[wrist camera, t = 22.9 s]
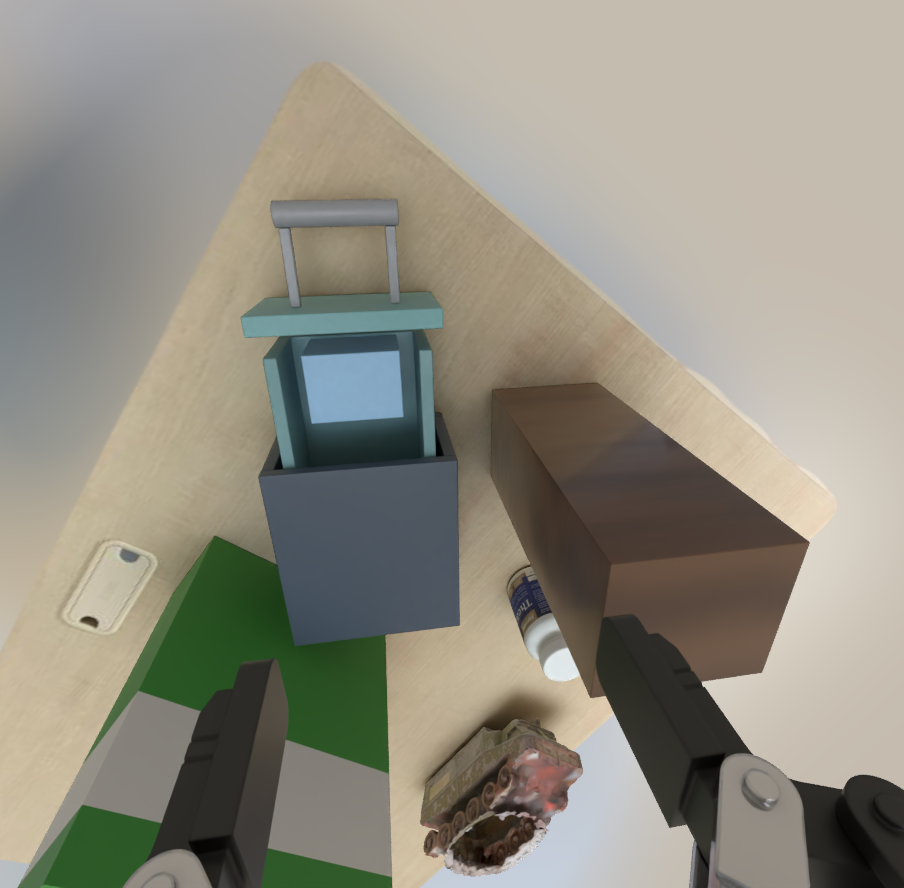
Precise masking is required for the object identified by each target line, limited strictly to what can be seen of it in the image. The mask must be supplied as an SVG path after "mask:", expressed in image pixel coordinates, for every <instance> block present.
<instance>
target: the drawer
mask: <svg viewBox="0 0 904 888" xmlns="http://www.w3.org/2000/svg"><path fill="white" fill-rule="evenodd" d="M270 209H271V217H272V221H273V224H274V226H275V228H279V236H280V242H281V248H282V255H283V261H284V268H285V274H286V281H287V287H288V293H289V297H279V298H265V299H263V300H262V301H261V302H260V303H258V304H257V305H256V306H254V307H253V308H252V309H251V310H249V311H248V312H247V313H245V314H244V315H243V316H242V317H241V322H242V327H243V332H244V336H245V337H246V338H252V337H273V336H280V337H279V338H278V340H277V341H276V342H275V344H274V345H273V346H272V348H271V349H270V350H269V352H268V353H267V354H266V356H265V357H264V358H263V365H264V370H265V375H266V381H267V386H268V391H269V397H270V402H271V407H272V412H273V418H274V423H275V428H276V434H277V439H278V444H279V449H280V455H281V460H282V465H283V469H295V468H307V467H319V466H332V465H344V464H356V463H369V462H381V461H393V460H405V459H418V458H430V457H436V443H435V414H434V386H433V357H432V349H431V347H430V344H429V342H428V340H427V337H426V335H425V333H424V331H423V329H438V328H443V308H442V307H441V305H440V304H439V303H438V301H437V300H436V299H435V297H434V296H433V295H432V293H431V292H408V293H399V277H398V260H397V244H396V228H395V226H397V225H398V224H399V215H398V202H397V199H350V200H284V201H271V204H270ZM352 226H385V235H386V249H387V264H388V278H389V293H383V294H357V295H331V296H305V297H301V296H300V290H299V283H298V276H297V269H296V262H295V255H294V248H293V242H292V235H291V229H290V228H306V227H352ZM382 335H396V336H397V341H398V347H399V353H400V368H401V382H402V397H403V412H404V417H396V418H382V419H369V420H355V421H342V422H328V423H314V424H312V423H311V418H310V411H309V405H308V399H307V392H306V386H305V379H304V373H303V367H302V360H301V355H302V354H303V352H304V350H305V348H306V346H307V344H308V342H309V340H310V339H325V338H344V337H363V336H382Z"/></svg>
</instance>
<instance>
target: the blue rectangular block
mask: <svg viewBox="0 0 904 888" xmlns="http://www.w3.org/2000/svg"><path fill="white" fill-rule="evenodd" d="M301 360H302V367H303V373H304V379H305V386H306V392H307V399H308V405H309V411H310V418H311V423H312V424H314V423H328V422H342V421H355V420H369V419H382V418H396V417H404V412H403V397H402V382H401V368H400V353H399V347H398V341H397V336H396V335H382V336H363V337H344V338H325V339H310V340H309V342H308V344H307V346H306V348H305V350H304V352H303V354H302V355H301Z"/></svg>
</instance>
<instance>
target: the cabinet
mask: <svg viewBox="0 0 904 888" xmlns="http://www.w3.org/2000/svg"><path fill="white" fill-rule="evenodd" d="M434 414H435V443H436V457H430V458H418V459H405V460H393V461H381V462H369V463H356V464H344V465H332V466H319V467H307V468H295V469H283V465H282V460H281V455H280V449H279V444H278V439H277V436H276V439H275V441H274V443H273V445H272V448H271V450H270V452H269V455H268V457H267V459H266V461H265V464H264V466H263V468H262V471H261V472H260V475H259V477H258V478H259V483H260V487H261V492H262V496H263V501H264V506H265V510H266V515H267V520H268V524H269V529H270V534H271V538H272V543H273V548H274V552H275V557H276V561H277V566H278V571H279V575H280V580H281V585H282V589H283V594H284V599H285V603H286V608H287V613H288V617H289V622H290V626H291V631H292V636H293V640H294V645H295V646H299V645H307V644H315V643H323V642H331V641H339V640H347V639H355V638H363V637H371V636H379V635H387V634H395V633H403V632H411V631H419V630H427V629H435V628H443V627H451V626H459V625H460V607H459V533H458V461H457V458H456V455H455V452H454V449H453V446H452V443H451V440H450V437H449V434H448V432H447V429H446V426H445V423H444V420H443V417H442V414H441V413H434Z"/></svg>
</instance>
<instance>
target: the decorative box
mask: <svg viewBox="0 0 904 888" xmlns="http://www.w3.org/2000/svg"><path fill="white" fill-rule="evenodd" d="M582 773H583V768H582V764H581V760H580V756H579V754H578V753H576V752H574V751H572V750H569V749H568V748H567V747H566V746H564V745H561V744H559V743H557V742H556V738H555V736H554V734H553V733H552V732H551V731H548V730H546V729H544V728H541V727H540V722H539V720H538V719H535V721H534V722H533V723H530V722H528V721H525V720H523V719H520V720H518V719H515V720H513V721H512V722H510V723H509V724H508V725H507V726H506V728H504V729H503V730H502V731H500V730H495V731H494V730H492V729H489V728H487V727H483V728H482V729H481V730H480V731H479V732H478V733H477V734H476V736H474V737H473V738H472V739H471V741H469V743H468V744H467V745H466V746H464V747H463V748H462V749H461V750H460V751H459V752H457V753H456V755H455V756H454V757H453V758H452V759H451V760H450V761H449V762H448V763H447V764H446V765H445V766H444V767H443V768H442V769H441V770H440V771H438V773H437V774H436V775H435V776H434V777H433V778H432V779H430V780H429V781H428V782H427V783H426V785H425V793H424V798H423V804H422V809H421V820H420V823H421V825H423V826H426V827H429V828H433V829H436V830H439V832H436V831H435V830H431V831H429V833H428V835H427V836H426V839H425V842H424V852H425V853H426V854H425V855H427V856H432V857H433V858H436V857H438V856H440V855H444V856H445V860H444V862H445V866H446V868H447V869H451V870H453V872H454V873H455V874H463V875H464V876H471V877H473V876H481V875H489V874H497V873H499V872H500V873H501V872H502V871H506V870H507V869H509V868H511V867H513V866H515V865H516V864H518V861H519V860H521V859H522V860H523V858H525V854H526V853H528V854H530V853H531V852H532V850H533V849H535V847H538V846H537V845H538V843H537V842H540V841H541V840H542V838H543V837H544V836H545V834H546V831H548V830H547V829H546V826H547V825H548V824H549V823H550V820H551V817H552V816H553V815H555V814H557V813H560V812H562V811H563V810H564V809H565V808H566V807H567V802H568V797H567V790H568V788H569V787H570V785H572V784H573V783H574V782H575V781H576V780H577V778H579V777H580V776H581V775H582Z"/></svg>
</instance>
